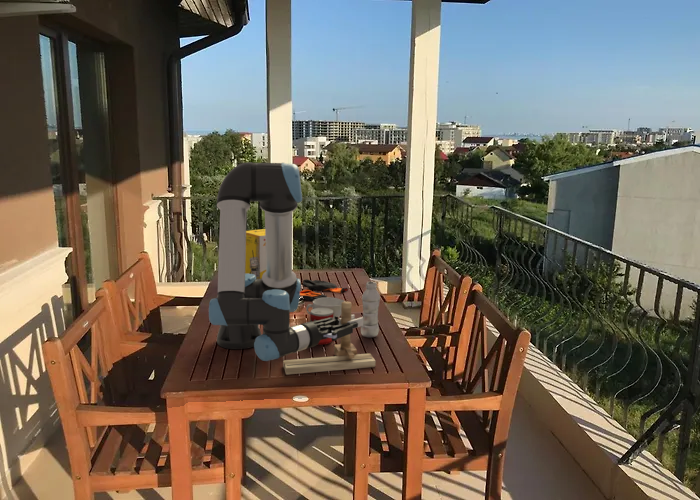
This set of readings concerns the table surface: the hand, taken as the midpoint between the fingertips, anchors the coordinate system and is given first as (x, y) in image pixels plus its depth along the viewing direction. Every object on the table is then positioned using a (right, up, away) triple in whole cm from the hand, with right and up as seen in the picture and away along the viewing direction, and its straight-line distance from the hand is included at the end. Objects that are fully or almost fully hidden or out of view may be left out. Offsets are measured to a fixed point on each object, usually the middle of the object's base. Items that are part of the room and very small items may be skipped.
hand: (357, 320), depth 175 cm
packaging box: (-45, +7, +89) cm, 100 cm away
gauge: (-4, -12, -4) cm, 13 cm away
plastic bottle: (+5, -8, +18) cm, 20 cm away
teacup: (-12, -5, +34) cm, 36 cm away
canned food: (-13, -9, +12) cm, 20 cm away
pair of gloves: (-20, +3, +73) cm, 76 cm away
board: (-9, -13, -9) cm, 19 cm away
